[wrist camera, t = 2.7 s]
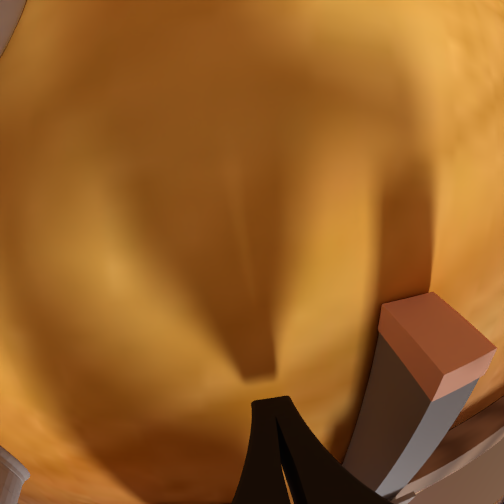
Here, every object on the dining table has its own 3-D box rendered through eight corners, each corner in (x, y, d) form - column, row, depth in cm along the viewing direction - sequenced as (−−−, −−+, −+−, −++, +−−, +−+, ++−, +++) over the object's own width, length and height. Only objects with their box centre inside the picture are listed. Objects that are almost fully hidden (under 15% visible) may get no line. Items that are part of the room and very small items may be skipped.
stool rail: (307, 503, 18) (319, 546, 13) (317, 461, 14) (337, 525, 10) (489, 423, 20) (508, 450, 15) (526, 363, 16) (554, 392, 12)
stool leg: (371, 466, 16) (389, 506, 12) (333, 477, 16) (348, 521, 12) (436, 290, 10) (500, 346, 6) (377, 305, 10) (438, 377, 6)
